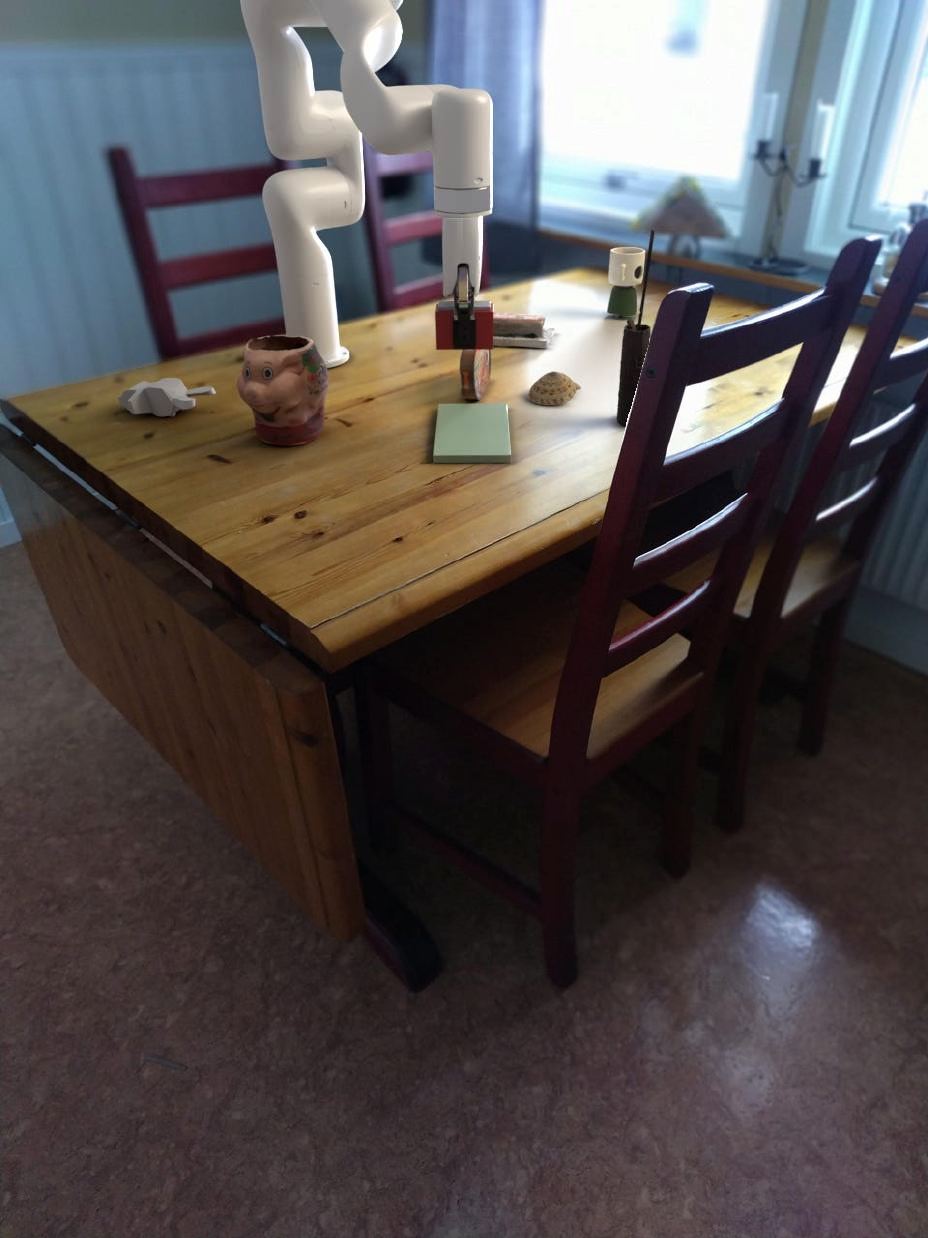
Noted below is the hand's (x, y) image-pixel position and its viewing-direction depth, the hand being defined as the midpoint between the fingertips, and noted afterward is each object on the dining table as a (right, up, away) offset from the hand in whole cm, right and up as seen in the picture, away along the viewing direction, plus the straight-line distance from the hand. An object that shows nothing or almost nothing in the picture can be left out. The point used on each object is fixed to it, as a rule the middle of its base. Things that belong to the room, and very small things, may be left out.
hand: (464, 341), depth 120 cm
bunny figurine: (-48, -6, +17) cm, 52 cm away
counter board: (+1, -12, +8) cm, 14 cm away
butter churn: (+26, -8, +13) cm, 30 cm away
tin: (+2, -1, +24) cm, 24 cm away
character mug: (+33, +25, +60) cm, 73 cm away
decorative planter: (-26, -11, +10) cm, 30 cm away
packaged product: (+8, +16, +47) cm, 51 cm away
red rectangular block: (0, 0, 0) cm, 1 cm away
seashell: (+15, -3, +21) cm, 26 cm away
